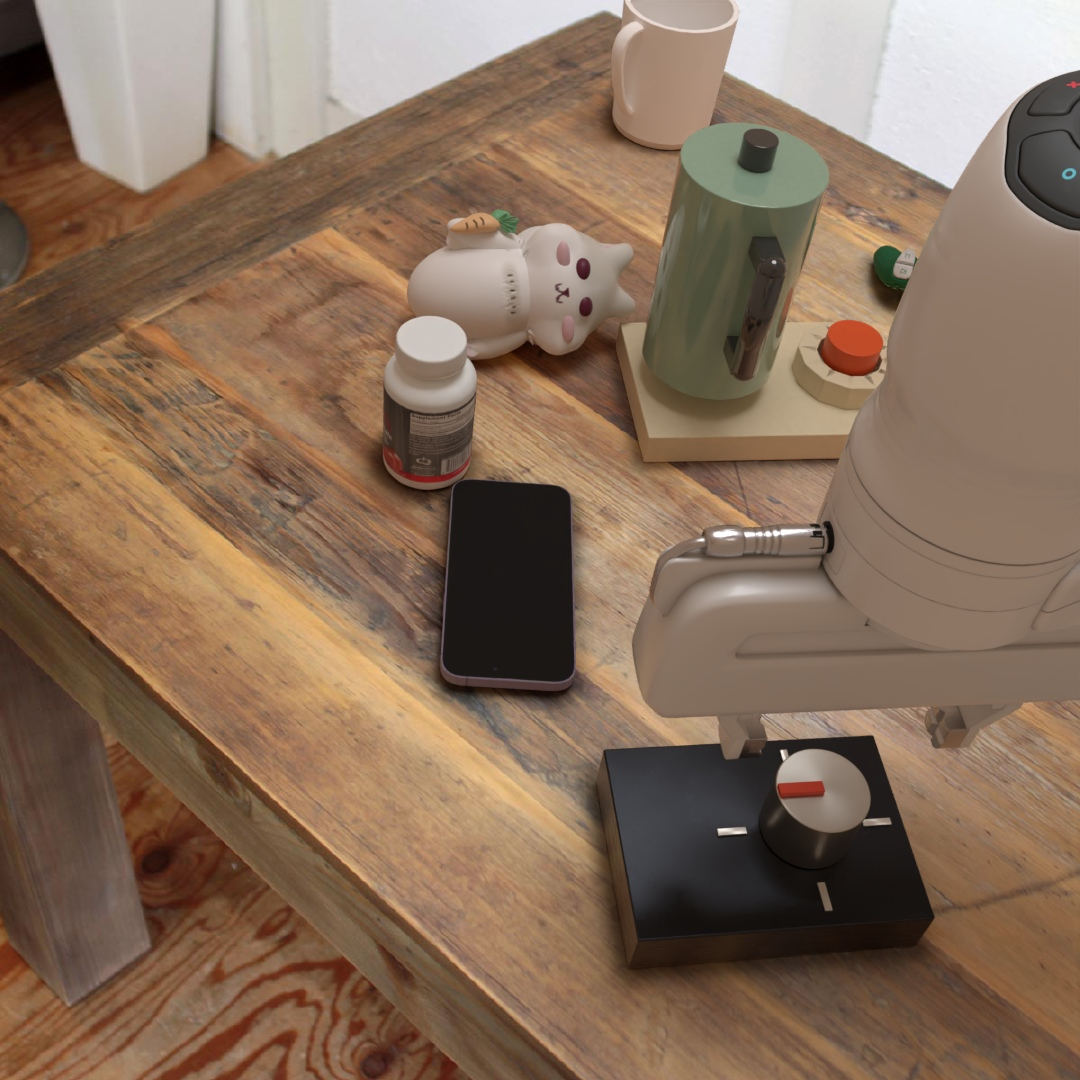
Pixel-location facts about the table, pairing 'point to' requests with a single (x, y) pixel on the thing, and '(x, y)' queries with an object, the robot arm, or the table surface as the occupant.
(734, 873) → the dial panel
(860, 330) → the button
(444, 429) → the pill bottle
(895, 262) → the gaming controller
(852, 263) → the table surface
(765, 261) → the kettle
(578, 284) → the cat figurine
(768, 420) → the kettle base
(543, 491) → the smartphone
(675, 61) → the mug
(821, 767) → the knob
